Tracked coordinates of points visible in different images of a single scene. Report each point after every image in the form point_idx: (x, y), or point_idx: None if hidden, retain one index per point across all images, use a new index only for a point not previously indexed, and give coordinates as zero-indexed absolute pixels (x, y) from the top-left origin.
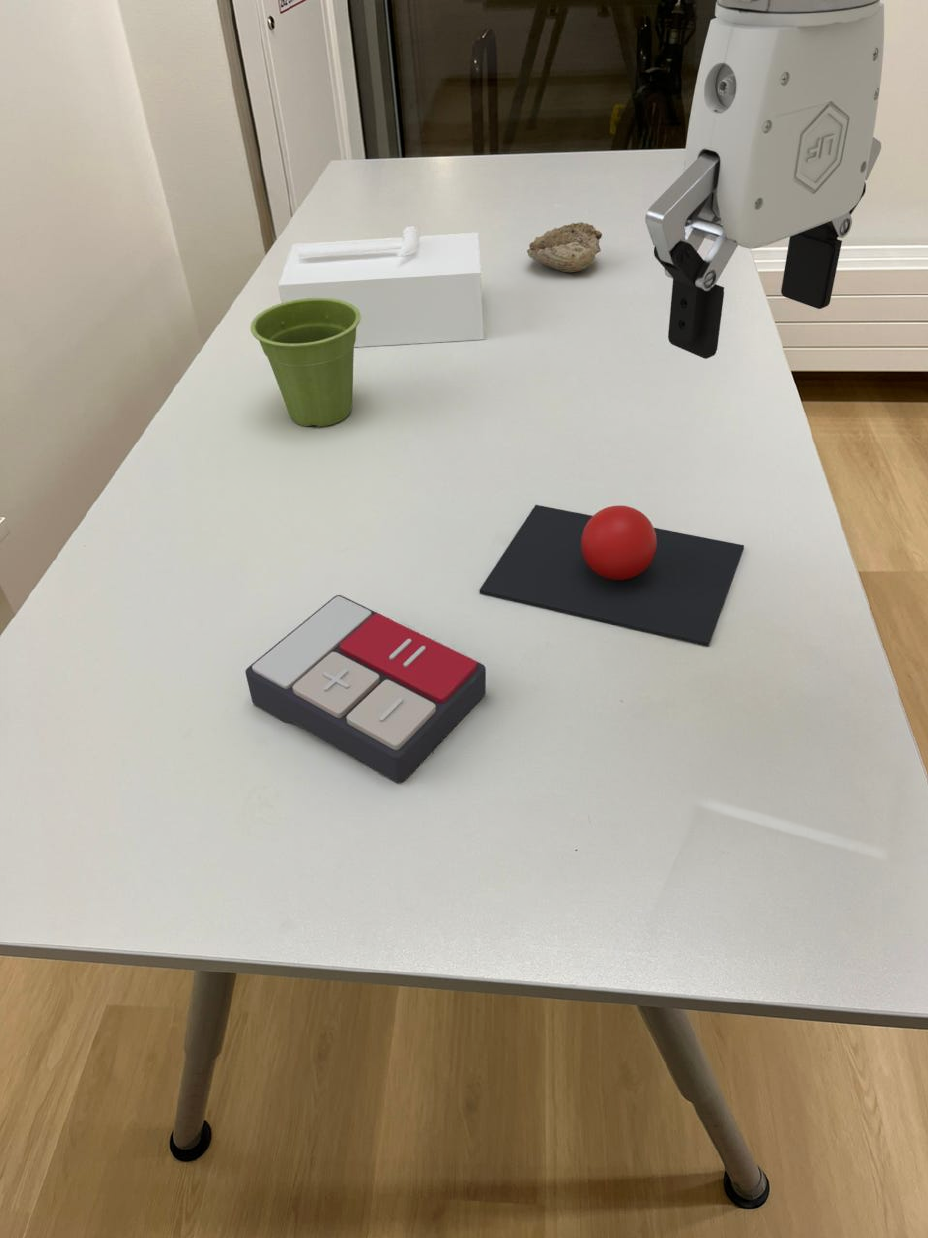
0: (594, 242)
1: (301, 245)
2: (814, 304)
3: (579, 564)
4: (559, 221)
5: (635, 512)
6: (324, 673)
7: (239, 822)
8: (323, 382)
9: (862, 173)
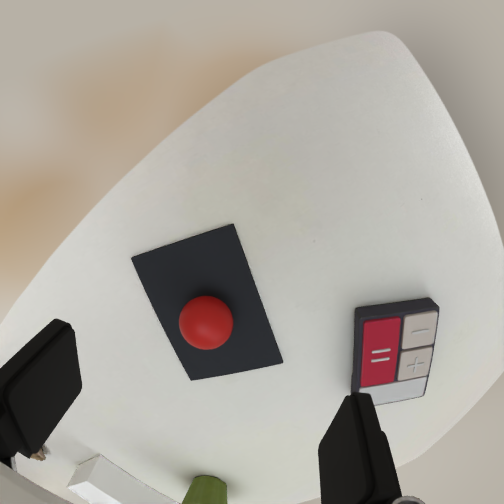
0: None
1: None
2: (73, 338)
3: None
4: None
5: (190, 329)
6: (415, 371)
7: (471, 333)
8: (213, 497)
9: None
